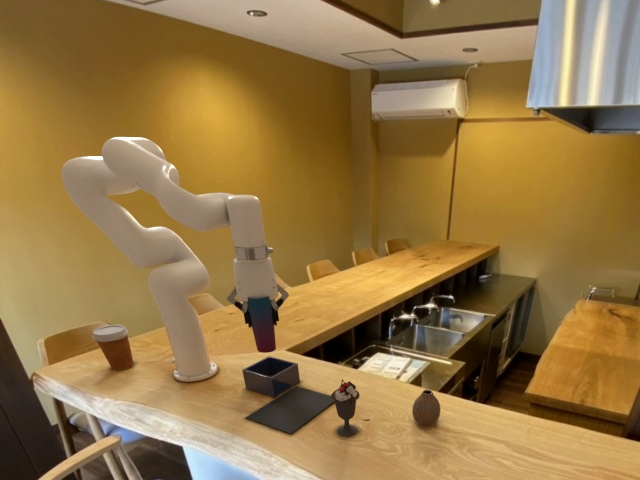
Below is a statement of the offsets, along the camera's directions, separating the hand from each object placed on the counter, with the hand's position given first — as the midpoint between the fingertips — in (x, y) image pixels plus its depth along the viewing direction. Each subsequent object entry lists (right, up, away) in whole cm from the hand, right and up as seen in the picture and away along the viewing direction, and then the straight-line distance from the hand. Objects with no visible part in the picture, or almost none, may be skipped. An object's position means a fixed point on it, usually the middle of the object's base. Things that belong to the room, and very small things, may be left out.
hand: (262, 324), depth 112 cm
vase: (+43, -27, -6) cm, 51 cm away
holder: (0, -15, +11) cm, 19 cm away
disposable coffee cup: (-51, -8, +22) cm, 57 cm away
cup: (0, -6, +4) cm, 7 cm away
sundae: (+24, -29, -10) cm, 38 cm away
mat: (+9, -23, -1) cm, 24 cm away
